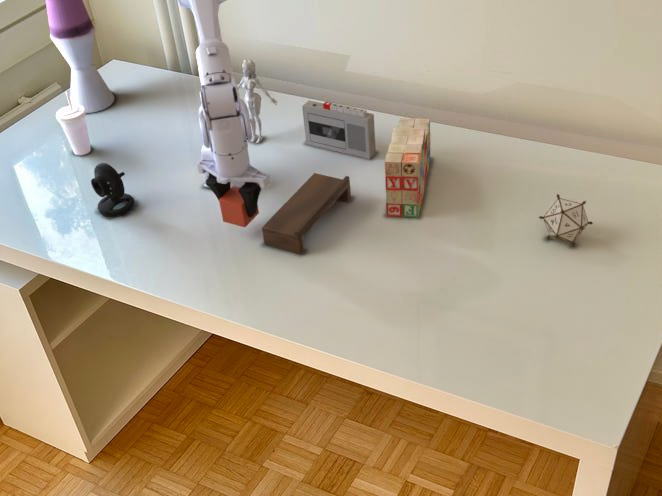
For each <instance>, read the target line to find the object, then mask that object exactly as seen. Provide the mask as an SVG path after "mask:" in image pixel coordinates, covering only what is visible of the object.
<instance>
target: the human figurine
mask: <svg viewBox="0 0 662 496" xmlns="http://www.w3.org/2000/svg"><path fill="white" fill-rule="evenodd" d="M241 66H242V72H243V76H242V77H241V80H240V82H239V83H238V84H237V86H238V89H239V88H241V87H242V89H244V90H245V95H244V99H243V100H244V101H245V103H246V105H247V110H248V113H249V118H250V124H251V130H252V139H251V141H250V142H251V143H255V144H260V143H261V142H262V140H264V139H263V138H264V136H263V135H262V121H261V118H260V116H259V115H260V113H261V107H262V97H261V94H260V93H259V92H255V87H256V86H257V87H258V88H259V89H261V91H262V92H263V94H264V95H265V96H266V97H267V98H269V100H270V103H271V104H273V105H274V106H277V105H278V101H277V100H276V99H275V98H274V97H272V96H271V95H270V93H269V92H268V90H267V89H265V88H263V85H262V84H261V82H260V80H259V78H258V75H257V72H256V63H255V62H254V60H252V59H250V58H249V59H243V62H242V65H241ZM256 124H257V127H256ZM257 129H258V135H257V134H256V133H257V132H256V130H257Z"/></svg>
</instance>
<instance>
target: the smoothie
mask: <svg viewBox="0 0 662 496" xmlns="http://www.w3.org/2000/svg"><path fill="white" fill-rule="evenodd" d="M65 96H66V98H67V102H68V105H66V106H63V107H61V108H59V109H58V110H57V111H56V113H55V117H56V120H57V121H58V122H59V123H60V125H61V128H62V130H63V131H64V134H65V136H66V138H67V140H68V142H69V145H70V146H71V149H72V151H73V153H74V154H75V155H76V156H85V155H88V154H89V153H90V152H91V151H92V149H91V143H90V136H89V130H88V123H87V118H86V116H87V113H86V111H85V108H84V107H83V106H81V105H72V104H71V100H70V94H69V91H68V90H66V91H65Z"/></svg>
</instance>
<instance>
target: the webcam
mask: <svg viewBox="0 0 662 496" xmlns="http://www.w3.org/2000/svg"><path fill="white" fill-rule="evenodd" d="M93 175H94V177H93V178H92V179H91V181H90V184H91V187H92V190H93V191H94V192H95V194H96V195H97V196H99V197H100V198H101V199H100V200H99V202H98V203H97V211H98V213H99V214H100V215H102V216H104V217H107V218H116V217H120V216H124V215H126V214H128V213H129V212H131V211H132V210H133V209H134V207H135V198H134V197H133V196H132V195H131V194H128V193H126V192H125V191H126V190H125V185H124V181H123V180H122V177H124V176H125V172H124V171H122V172H120V173H119V172H118V171H117V170H116V169H115V168H114V167H113V166H112V165H111V164H109V163H107V162H100V163H98V164H97V165H95V167H94V170H93ZM123 202H126V204H125V205H124V206H122V207H120V208H116V209H114V208H115V207H116V206H118V205H119V204H121V203H123Z"/></svg>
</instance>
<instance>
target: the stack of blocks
mask: <svg viewBox="0 0 662 496" xmlns="http://www.w3.org/2000/svg"><path fill="white" fill-rule="evenodd" d="M430 162H431V119H430V118H419V117H418V118H417V117H415V118H408V117H407V118H405V117H401V118H400V117H399V121H398V125H397V127H393V130H392V133H391V140H390V143H389V145H388V149H387V153H386V156H385V159H384V174H385V175H384V176H385V177H384V179H385V180H384V181H385V182H384V183H385V199H386V203H385V209H386V210H385V211H386V217H392V218H393V217H395V218H419V215H420V210H421V208H422V203H423V199H424V195H425V186H426V181H427V176H428V173H429V169H430Z"/></svg>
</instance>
